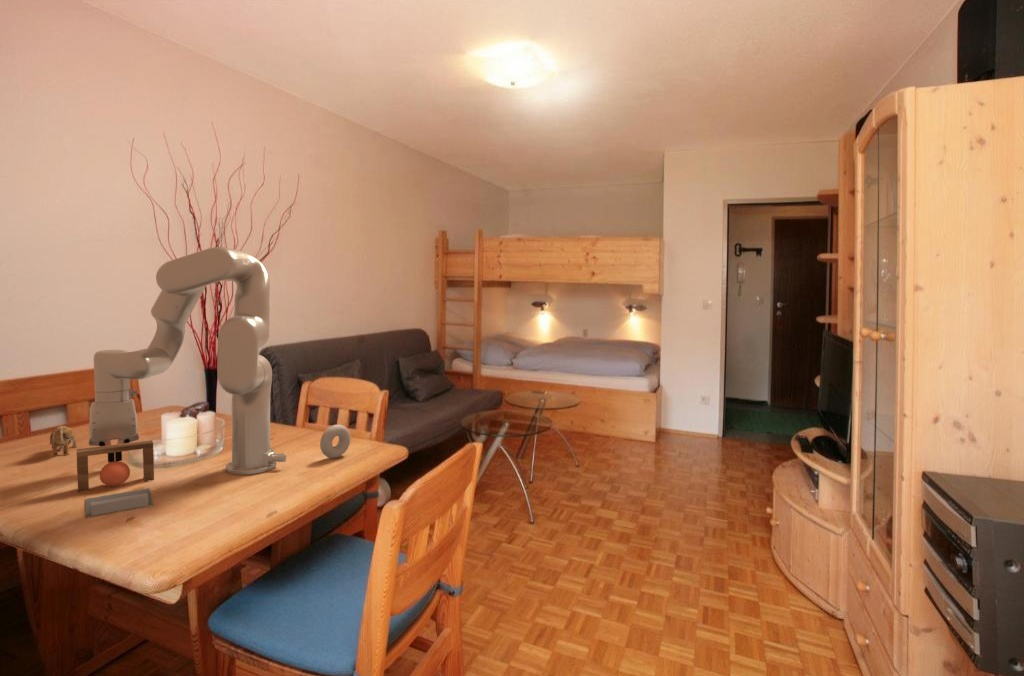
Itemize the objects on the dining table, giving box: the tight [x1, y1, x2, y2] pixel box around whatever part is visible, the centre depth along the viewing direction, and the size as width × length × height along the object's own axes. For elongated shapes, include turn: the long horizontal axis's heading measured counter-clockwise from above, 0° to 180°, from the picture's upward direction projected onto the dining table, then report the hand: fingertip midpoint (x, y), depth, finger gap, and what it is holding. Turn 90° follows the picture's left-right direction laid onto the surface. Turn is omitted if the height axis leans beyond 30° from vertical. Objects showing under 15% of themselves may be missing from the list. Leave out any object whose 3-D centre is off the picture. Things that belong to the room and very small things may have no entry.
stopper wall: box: [91, 493, 149, 517], centre depth 116 cm, size 2×10×2 cm, turn 129°
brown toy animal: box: [49, 425, 78, 458], centre depth 154 cm, size 15×5×9 cm, turn 36°
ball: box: [99, 461, 131, 487], centre depth 130 cm, size 6×6×6 cm
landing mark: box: [85, 488, 154, 519], centre depth 120 cm, size 12×12×1 cm
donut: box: [319, 424, 351, 459], centre depth 157 cm, size 10×4×10 cm, turn 146°
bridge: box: [76, 439, 155, 493], centre depth 131 cm, size 3×15×10 cm, turn 128°
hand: (115, 464), depth 141 cm, fingers closed
